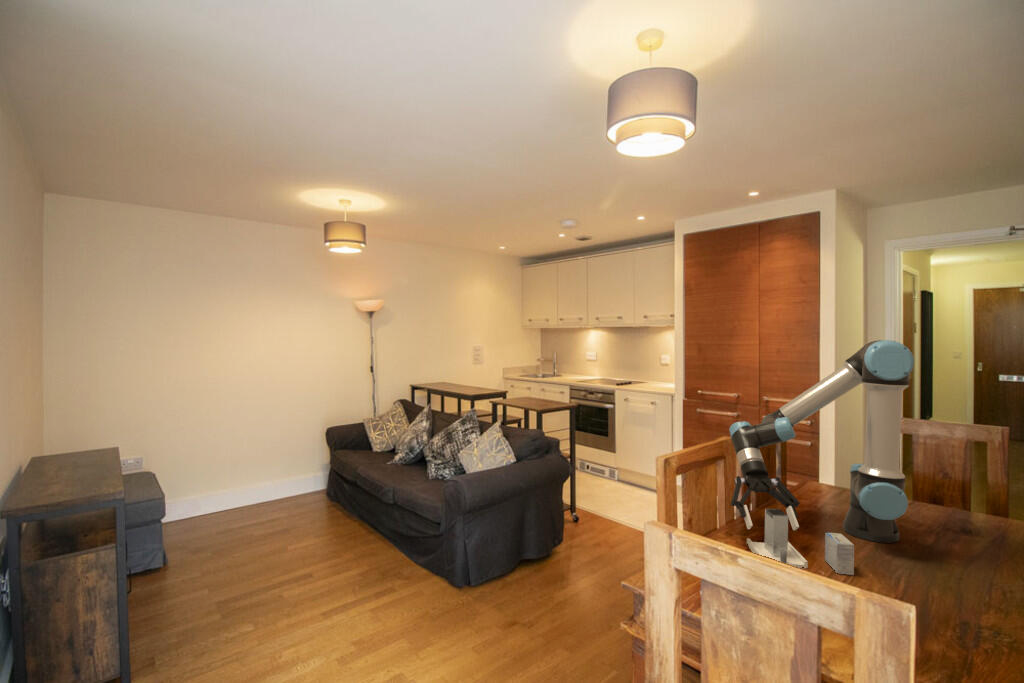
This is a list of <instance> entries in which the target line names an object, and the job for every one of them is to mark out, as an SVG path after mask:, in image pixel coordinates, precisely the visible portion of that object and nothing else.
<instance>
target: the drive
mask: <svg viewBox="0 0 1024 683" xmlns="http://www.w3.org/2000/svg"><path fill="white" fill-rule="evenodd" d="M788 542H789V517H788V515H787V513H786V512H784V511H782V510H781V509H780V508H779V509H777V508H764V541H763V543H764V548H765V549H766V550H767V551H768V552H769V553H770V554H771V555H772V556H773V557H780V551H781V550H784V551H786V552H787V553H788Z"/></svg>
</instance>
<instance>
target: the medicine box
mask: <svg viewBox="0 0 1024 683" xmlns="http://www.w3.org/2000/svg"><path fill="white" fill-rule="evenodd" d="M824 534H825V535H824V561H826V562H827V563H828V564H829V565H830V566H831V567H832V568H833V569H832V568H831V567H830V566H829V565H828V564H827V563H826V562H825V563H826V564H827V565H828V566H829V567H830V568H831V569H832V570H833V571H834V570H835V571H834V572H835V573H836V574H837V573H838V575H844V574H846V575H847V576H854V575H855V544H854V543H852V542H851V541H850V540H849V539H848V538H846V536H844V535H843V534H842V533H837V532H825V533H824Z"/></svg>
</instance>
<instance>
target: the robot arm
mask: <svg viewBox="0 0 1024 683" xmlns="http://www.w3.org/2000/svg"><path fill="white" fill-rule="evenodd" d="M914 366H915V357H914V353H912V352H911V349H909V348H908V347H907V346H906V345H904V344H903V343H902V342H899V341H895V340H890V339H889V340H888V339H885V340H883V339H879V340H873V341H870V342H868V343H866V344H865V345H863V346H862V347H861V348H860V349H859V350H858V351H856V352H855V353H854V354H852V355H851V356H850V357H849V358H847V359H845V360H844V361H843V365H842V366H841V367H840V368H837V369H836V370H835V371H833V372H832V373H831V374H829V375H827V376H826V377H824V378H823V379H821V380H820V381H819V382H817V383H815V384H814V385H812V386H811V387H809V388H808V389H806V390H804V391H803V392H802V393H800V394H799V395H797V396H796V397H794V398H793V399H791V400H790V401H788V402H787V403H785V404H784V405H783V406H781V407H779V408H778V409H776V410H775V411H774V412H772V413H769V414H767V415H765V416H764V417H763V418H762V421H761V423H757V424H754V425H751V423H750V422H748V421H745V420H743V421H737V422H734V423H733V424H731V425H730V426H729V430H728V431H729V434H730V439H731V442H732V445H733V448H734V451H735V455H736V458H737V461H738V465H739V466H740V471H741V474H742V477H741V476H740V475H737V476H736V477H735V479H734V485H735V486H734V490H733V493H732V498H731V500H730V505H731V506H732V507H736V509H737V510H738V512H739V514H740V518H743V519H744V523H745V525H746V529H747V530H751V528H752V527H753V526H754V525H753V522H752V519H751V515H750V512H749V508H748V506H747V504H745V502H746V500H747V499H748V497H749V496H750V494H751V493H752V492H754V493H756V494H757V493H764V494H765V493H766V494H768V495H770V496H772V497H773V498H774V499H775V500H777V502H779V503H781V505H783V506H784V507H785V508H786V509H785V513H786V515H787V516H788V521H789V522H790V525H791V528H792V531H797V530H798V529H799V528H800V525H799V522H798V520H797V519H798V516H799V515H798V513H797V510H796V508H798V506H799V505H801V504H800V501H799V500H798V498H796V497H795V496H794V495H793V493H792V492H791V491H790V490H789V489H788V487H787V486H785V485H784V483H783V482H782V480H781V478H780V477H779V476H776V477H775V478H770V476H769V473H768V469H767V467H766V464H765V463H764V462H765V461H764V458H763V455H762V452H761V450H760V449H761V448H762V447H766V446H771V445H775V444H779V443H784V442H788V441H790V440H794V439H795V438H796V436H797V434H796V432H795V430H794V427H795V426H796V425H798V424H799V423H801V422H803V421H804V420H806V419H807V418H809V417H810V416H812V415H813V414H815V413H817V412H819V411H820V410H821V409H823V408H825V407H826V406H828V405H830V404H831V403H833V402H834V401H836V400H837V399H839V398H840V397H841V396H844V394H846V393H848V392H850V391H851V390H853V389H854V388H856V387H858V386H859V385H860V384H863V385H864V386H865V387H866V389H867V390H866V392H867V394H866V396H867V397H866V414H865V415H866V417H865V419H866V420H865V436H864V437H865V439H864V440H865V442H864V463H859V462H858V463H857V462H856V463H853V464H852V463H851V466H850V471H849V474H850V480H849V481H850V484H849V485H850V488H849V508H848V510H847V512H846V514H845V517H844V519H843V523H842V529H843V530H844V531H845V533H847V534H849V535H851V536H853V537H857V538H860V539H862V540H865V541H870V542H876V543H885V544H887V543H888V544H890V543H891V544H892V543H897V542H899V541H900V530H899V527H898V525H897V522H896V519H898V518H900V517H902V516H903V515H904V514H905V513H906V512H907V510H908V508H909V507H908V506H909V500H908V497H907V494H906V492H905V487H906V484H905V483H906V475H905V474H904V473H903V472H902V471H901V470H900V458H901V457H900V454H901V453H900V451H901V433H902V432H901V431H902V430H901V429H902V410H903V409H902V408H903V407H902V406H903V405H902V404H903V391H904V390H905V389H907V388H908V387H909V386H910V378H911V376H910V374H911V373H912V371H913V369H914ZM743 484H744V485H745V486H747V489H746V491H745V492H744V494H743V495H742V497H741V498H740V500H738V499H739V495H740V491H741V487H742V485H743Z"/></svg>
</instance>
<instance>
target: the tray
mask: <svg viewBox="0 0 1024 683" xmlns="http://www.w3.org/2000/svg"><path fill="white" fill-rule="evenodd" d="M747 544H748V546H749V547H748V546H747V547H748V548H749V549H750V551H751V552H752V554H753V553H756V554H759V555H762V556H766V557H769V558H772V559H775V560H777V561H780V562H783V563H786V564H789V565H792V566H794V567H797V568H796V569H806V568H807V570H808V566H809V565H808V563H809V562H808V560H806V558H805V557H803V555H802V554H801V553H800V552H799V551H798V550H797V549H796V548H795V547H794V546H793V545H792V544H791V542H789V541H788V553H787V552H786V551H784V550H781V551H780V557H773V556H772V555H771V554H770V553H769V552H768V551H767V550H766V549H765V548H764V542H760V541H759V542H757V541H752V540H751V538H748V537H747V538H746V545H747ZM802 567H804V568H802Z"/></svg>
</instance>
